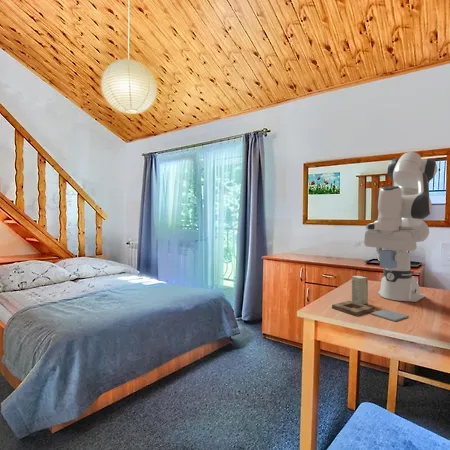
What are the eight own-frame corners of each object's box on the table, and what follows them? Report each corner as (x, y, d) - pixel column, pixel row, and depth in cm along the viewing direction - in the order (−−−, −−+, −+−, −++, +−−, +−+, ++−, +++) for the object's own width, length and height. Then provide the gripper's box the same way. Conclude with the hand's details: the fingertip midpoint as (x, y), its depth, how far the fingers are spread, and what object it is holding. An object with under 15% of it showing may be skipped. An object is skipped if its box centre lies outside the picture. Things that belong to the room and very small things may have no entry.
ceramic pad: (384, 310, 134) (384, 309, 134) (408, 317, 125) (408, 315, 125) (370, 314, 129) (370, 312, 129) (394, 321, 120) (394, 320, 120)
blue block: (386, 266, 130) (386, 249, 129) (396, 267, 126) (397, 250, 126) (379, 267, 127) (380, 250, 127) (390, 268, 124) (390, 251, 123)
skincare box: (368, 304, 143) (368, 278, 143) (360, 304, 142) (360, 278, 141) (358, 300, 149) (359, 275, 149) (350, 301, 148) (351, 275, 148)
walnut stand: (349, 303, 143) (349, 300, 143) (373, 311, 133) (373, 307, 133) (332, 308, 137) (332, 304, 137) (355, 315, 127) (356, 312, 127)
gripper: (420, 227, 119) (419, 262, 119) (371, 225, 136) (370, 256, 137) (411, 227, 115) (410, 264, 116) (362, 225, 133) (361, 257, 134)
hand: (388, 259), depth 127 cm, fingers closed on blue block, 4 cm apart
